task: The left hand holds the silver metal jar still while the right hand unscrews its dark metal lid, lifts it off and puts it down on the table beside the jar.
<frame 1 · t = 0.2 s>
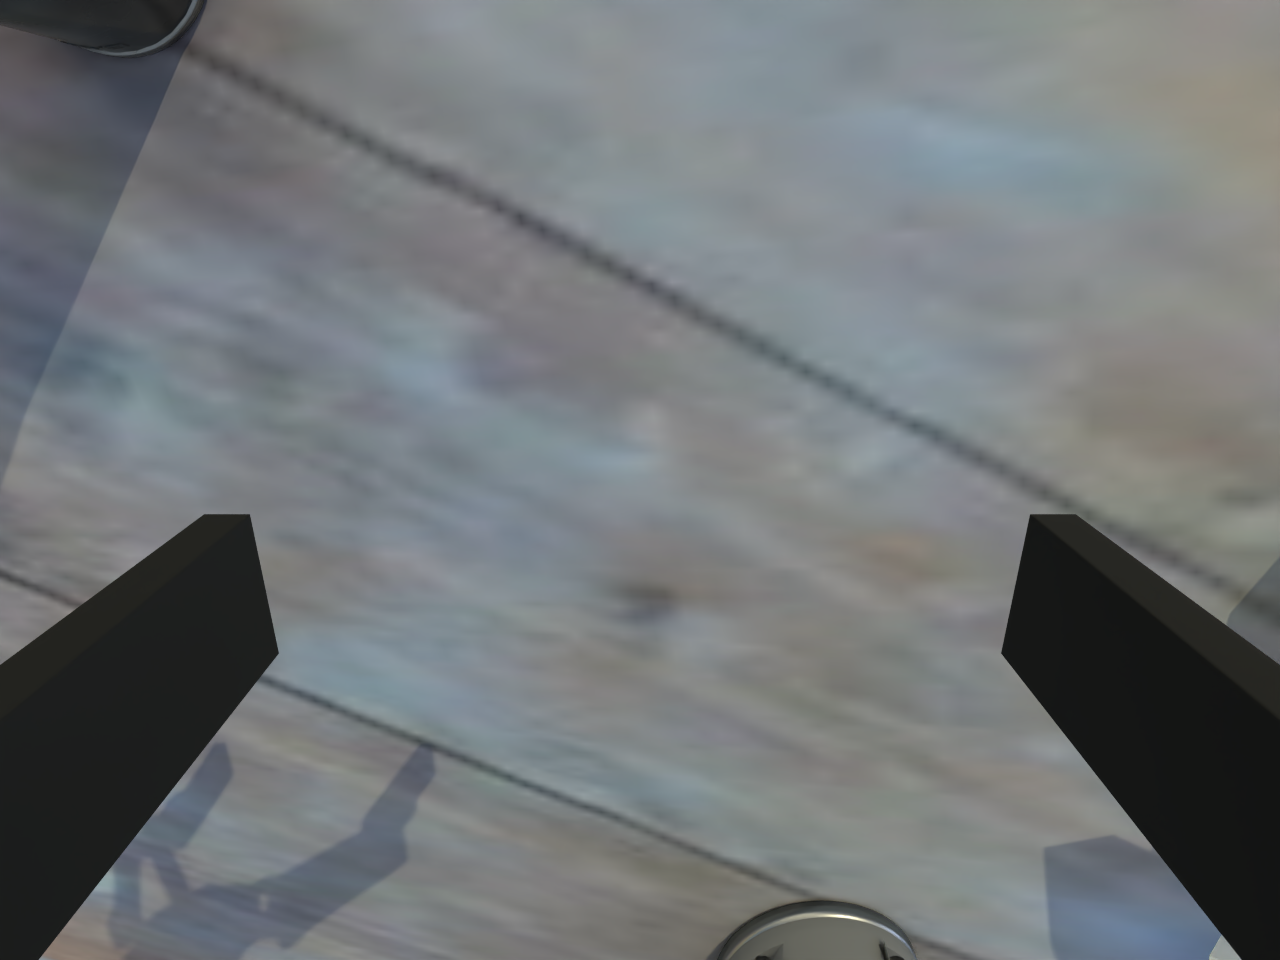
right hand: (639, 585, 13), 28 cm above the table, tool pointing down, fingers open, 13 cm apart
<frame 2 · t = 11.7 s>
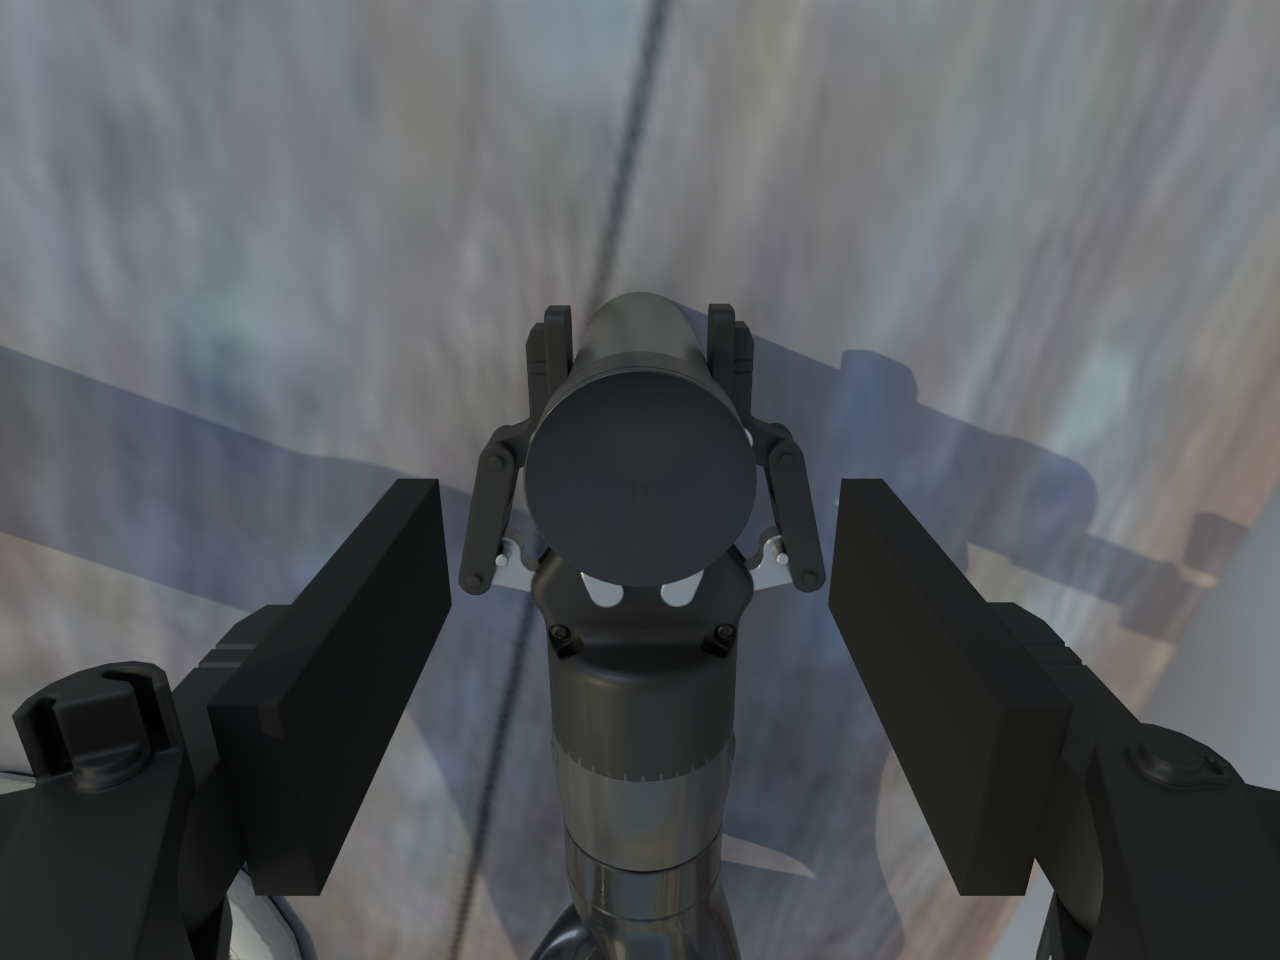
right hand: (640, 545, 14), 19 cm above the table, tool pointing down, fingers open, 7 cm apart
left hand: (640, 309, 25), fingers closed on jar, 5 cm apart
jar: (640, 349, 32), on the table, touching left hand
lid: (640, 479, 17), point 15 cm above the table, screwed on, not yet turned
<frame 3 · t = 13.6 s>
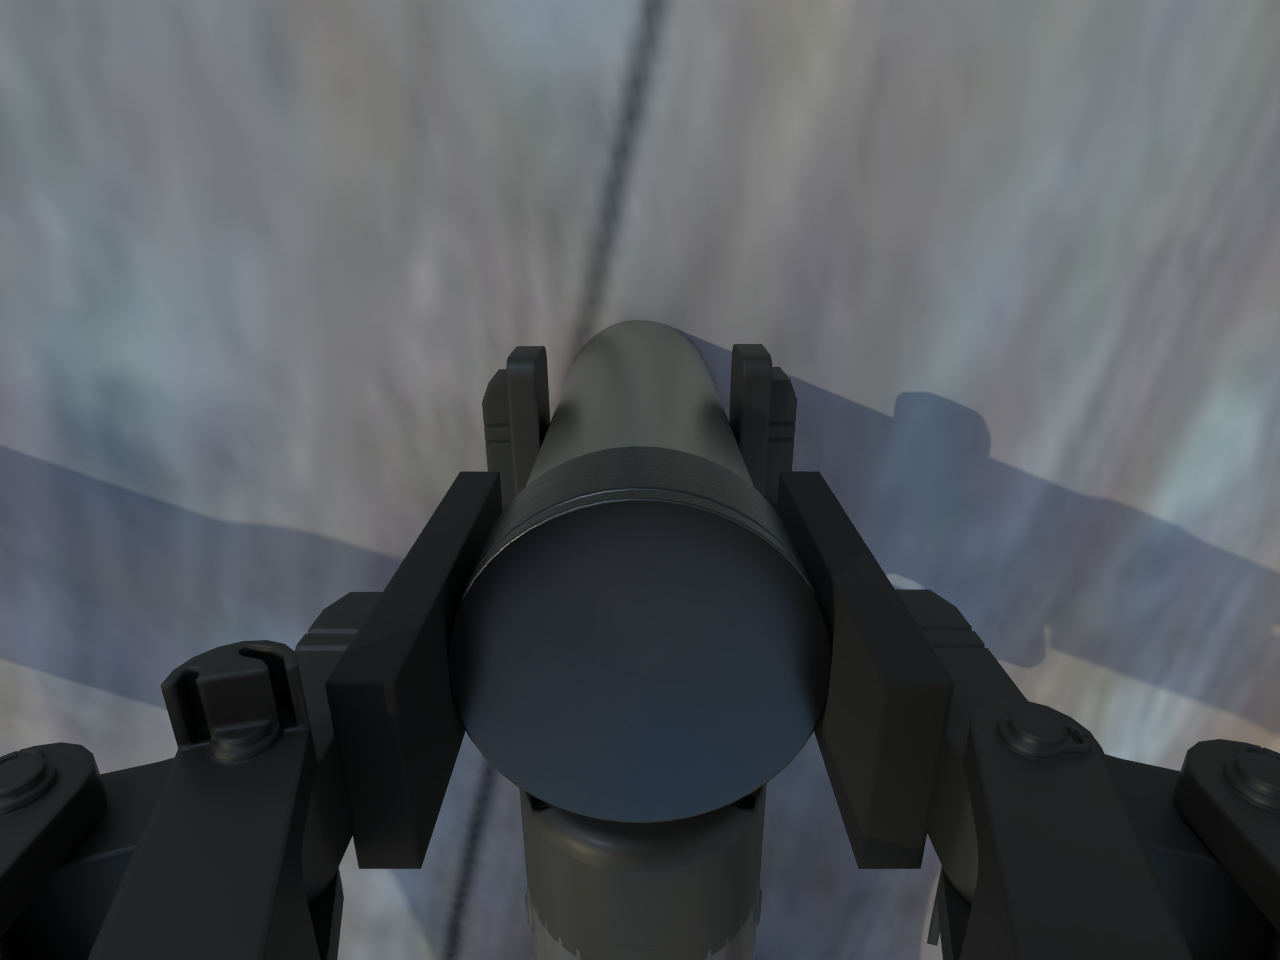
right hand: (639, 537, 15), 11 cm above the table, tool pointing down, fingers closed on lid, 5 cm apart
jar: (639, 392, 25), on the table, touching left hand
lid: (639, 662, 11), point 15 cm above the table, screwed on, not yet turned, touching right hand
when the right hand's fingers open (12 cm above the table, at t = 15.0 s): lid stays where it is, point 16 cm above the table.
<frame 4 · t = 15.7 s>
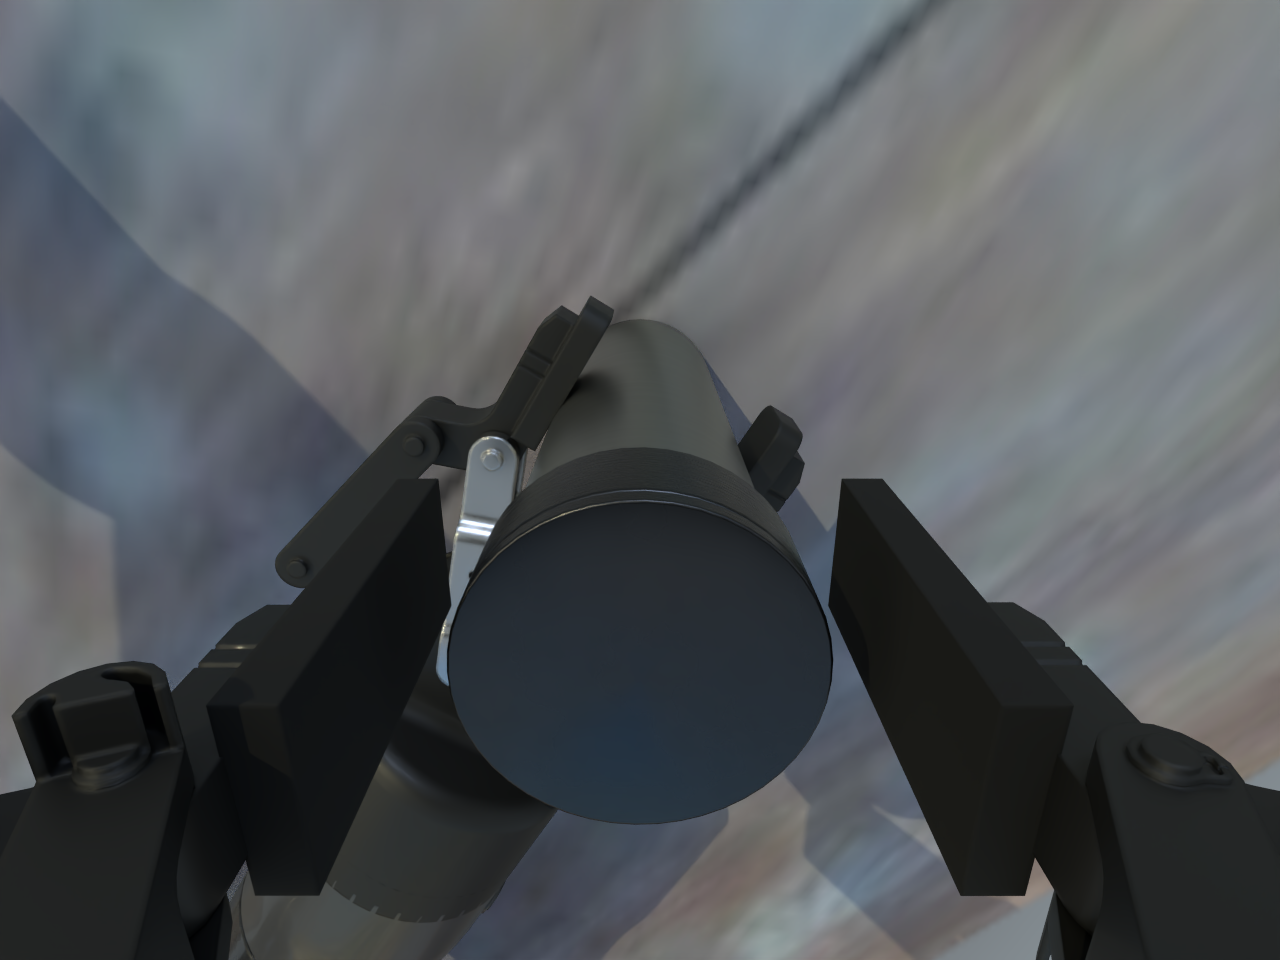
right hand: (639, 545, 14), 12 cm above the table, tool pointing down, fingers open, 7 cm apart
jar: (639, 390, 25), on the table, touching left hand
lid: (639, 663, 11), point 16 cm above the table, turned 103° so far, risen 0.3 cm, still on its thread
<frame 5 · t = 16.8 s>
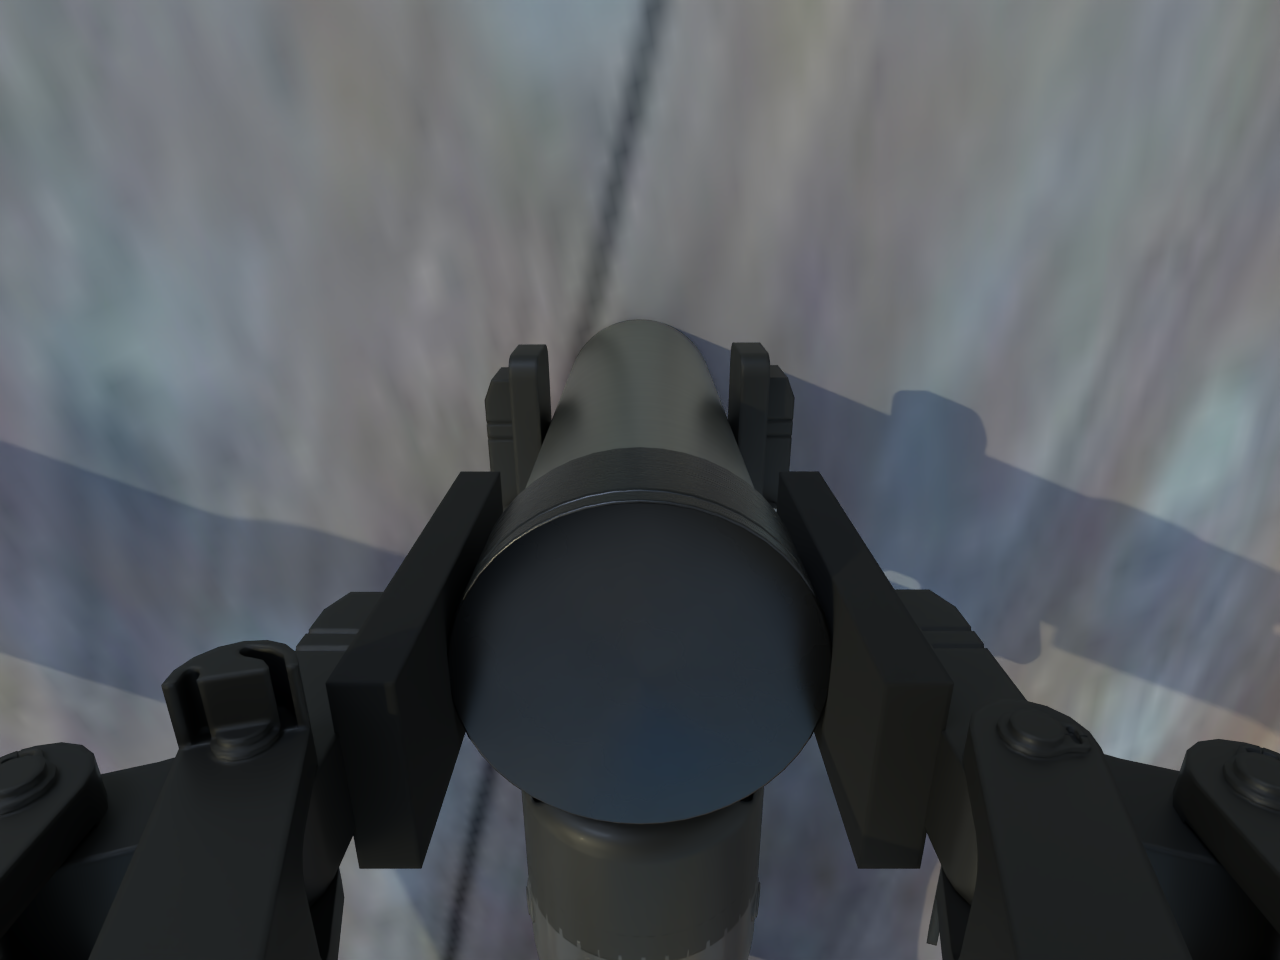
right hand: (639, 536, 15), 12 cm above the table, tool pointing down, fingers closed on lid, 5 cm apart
jar: (639, 390, 25), on the table, touching left hand
lid: (639, 663, 11), point 16 cm above the table, turned 103° so far, risen 0.3 cm, still on its thread, touching right hand
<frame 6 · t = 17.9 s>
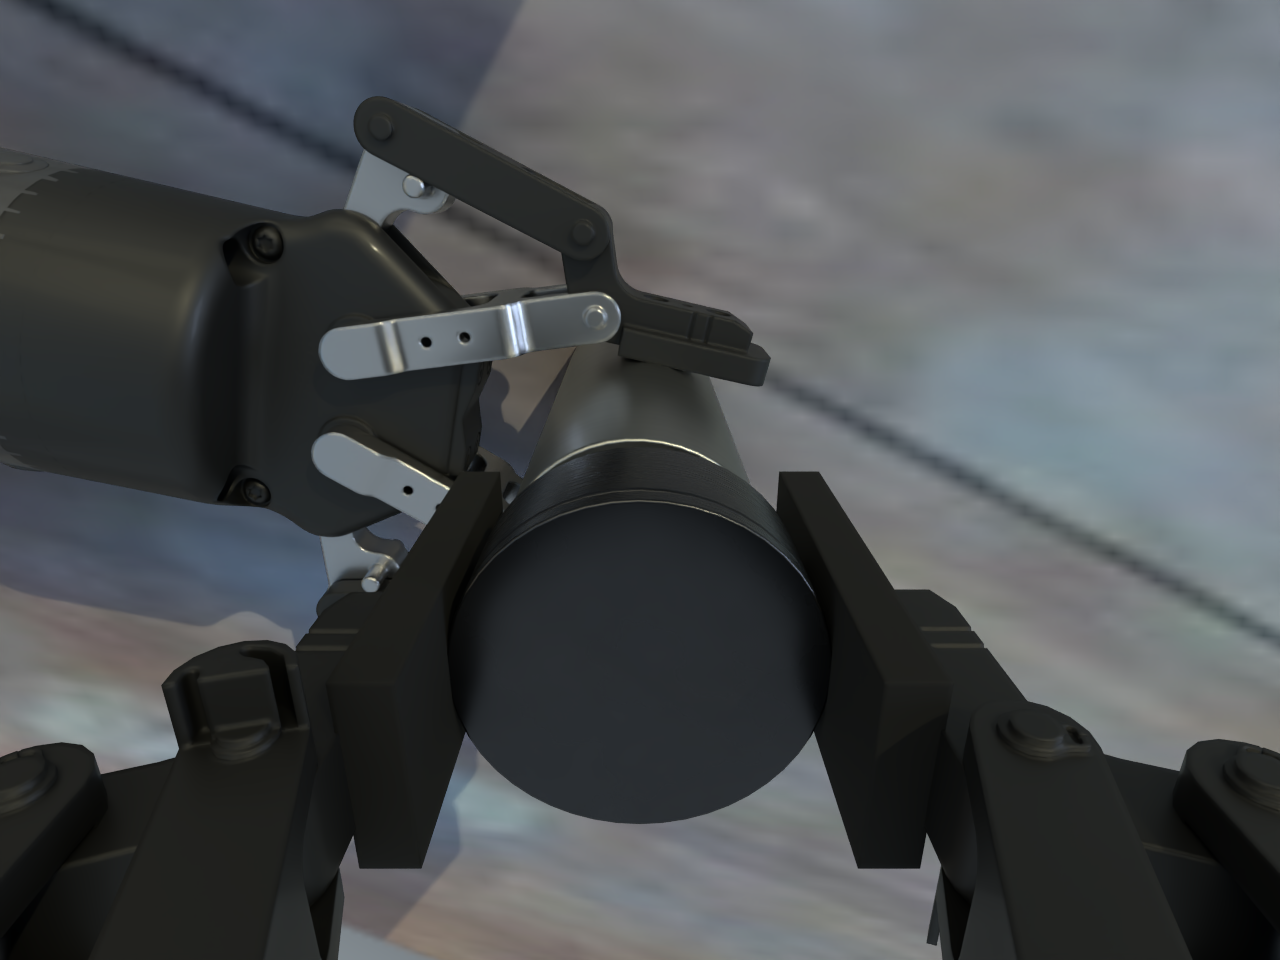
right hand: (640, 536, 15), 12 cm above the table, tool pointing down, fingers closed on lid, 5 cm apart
left hand: (731, 464, 20), fingers closed on jar, 5 cm apart
jar: (636, 384, 26), on the table, touching left hand
lid: (639, 662, 11), point 16 cm above the table, off its thread, touching right hand
when the right hand's fingers open (0 cm above the table, at t = 24.4 s): lid drops 3 cm, point 2 cm above the table.
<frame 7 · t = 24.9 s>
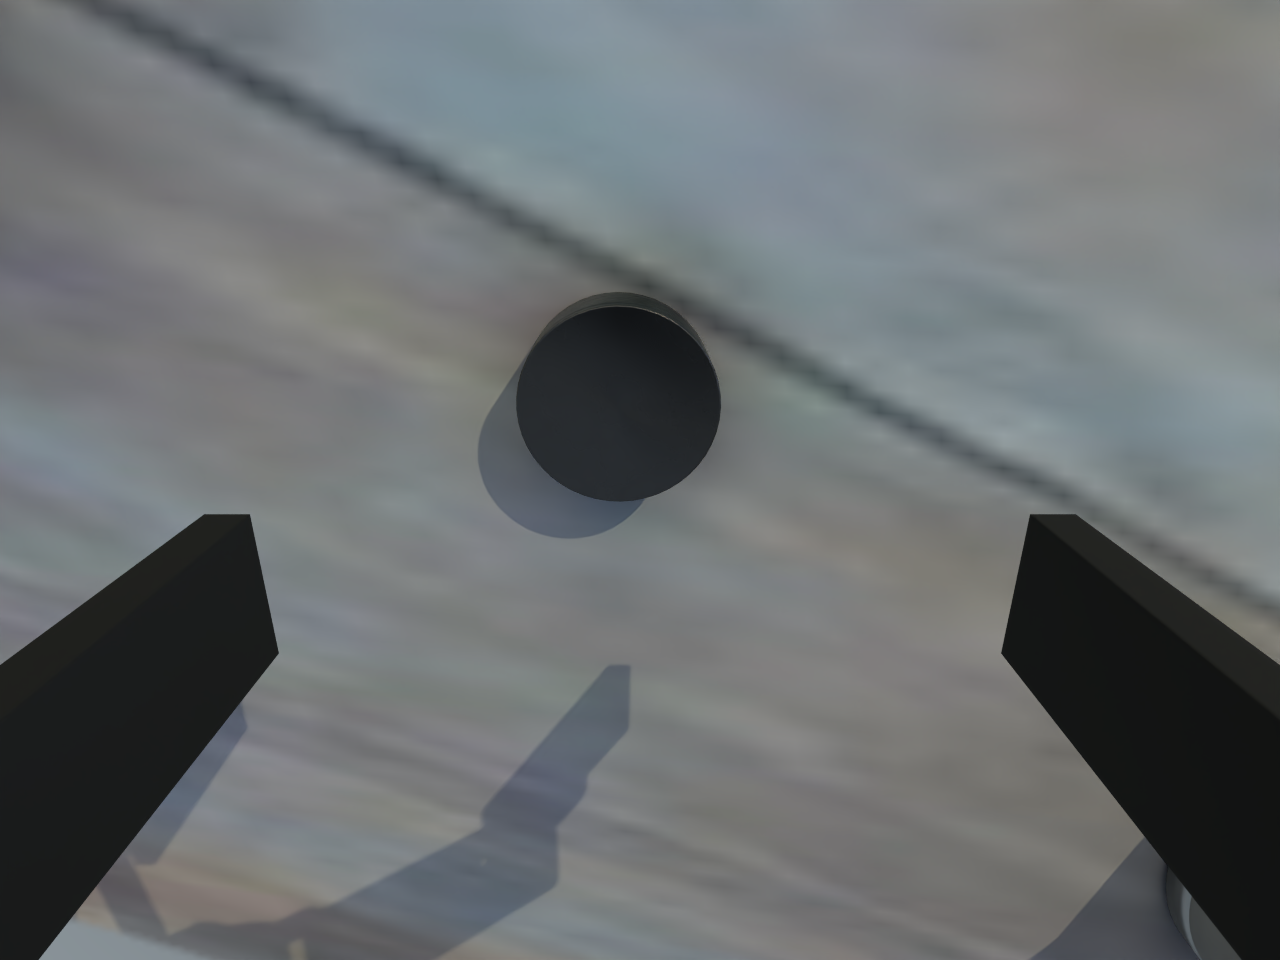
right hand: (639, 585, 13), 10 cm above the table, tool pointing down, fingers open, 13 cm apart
lid: (618, 404, 20), point 2 cm above the table, off its thread
when the left hand's fingers open (6 cm above the table, at t = 25.0 s): jar stays where it is, on the table.
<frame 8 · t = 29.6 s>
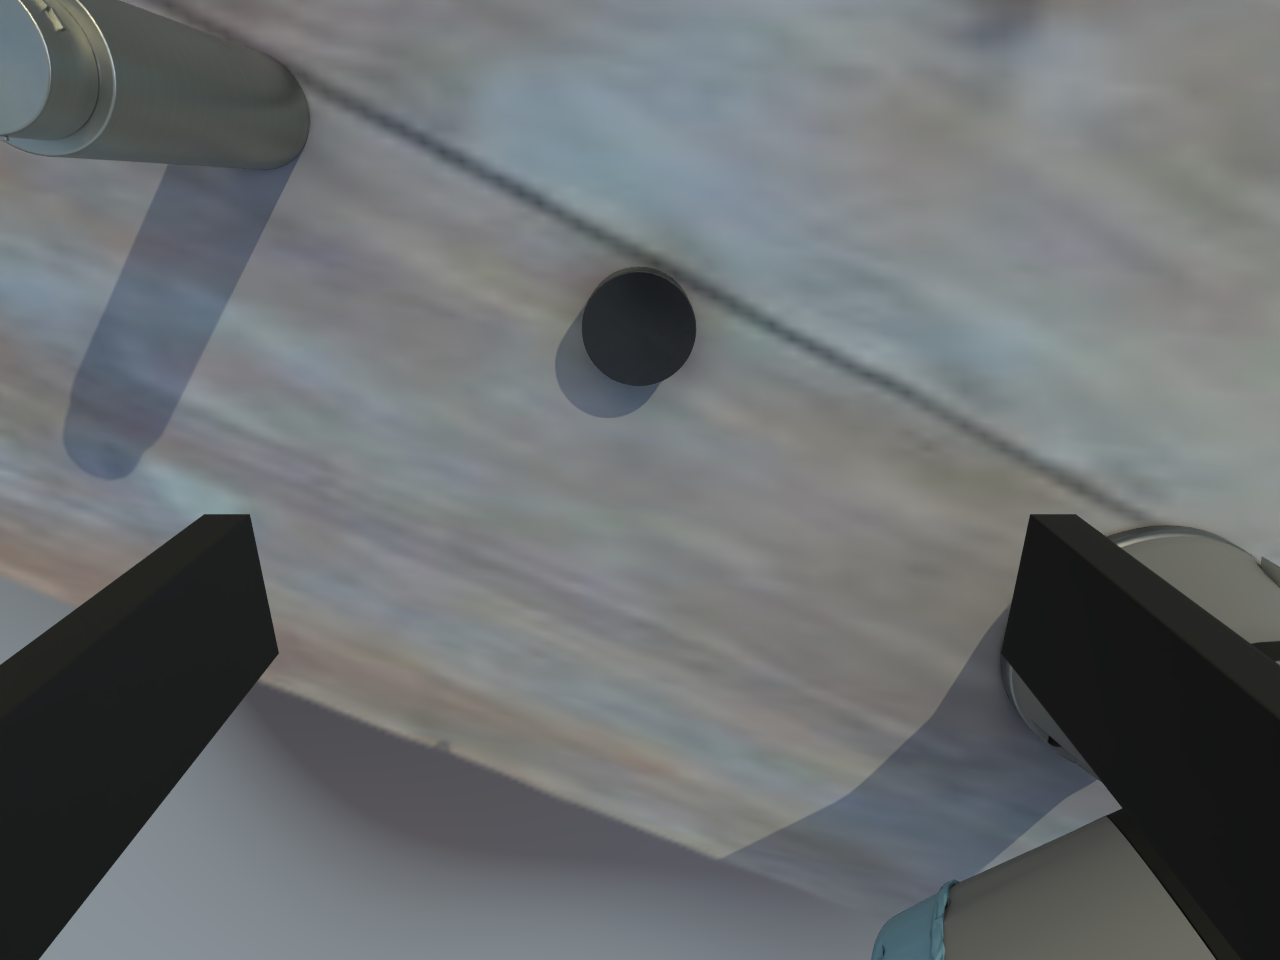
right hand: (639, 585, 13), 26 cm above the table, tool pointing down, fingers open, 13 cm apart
jar: (256, 111, 33), on the table
lid: (639, 328, 35), point 2 cm above the table, off its thread
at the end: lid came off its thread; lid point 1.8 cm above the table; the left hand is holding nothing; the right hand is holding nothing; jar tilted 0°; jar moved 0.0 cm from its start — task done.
